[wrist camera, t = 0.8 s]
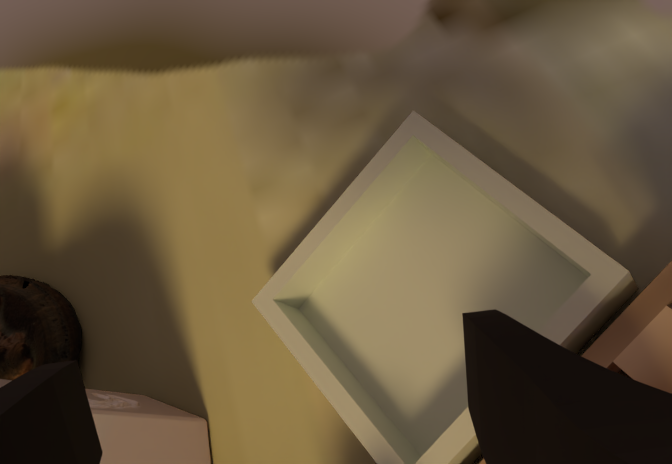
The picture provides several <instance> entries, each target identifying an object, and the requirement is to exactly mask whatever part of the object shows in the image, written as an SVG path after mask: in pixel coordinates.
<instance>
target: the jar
mask: <svg viewBox="0 0 672 464" xmlns="http://www.w3.org/2000/svg"><path fill="white" fill-rule="evenodd" d="M11 381H12V380H4V379H0V388H1V387H2V386H4V385H6V384H7V383H9V382H11ZM85 391H86V394H87V398H88V401H89V405H90V409H91V412H92V416H93V419H94V423H95V426H96V430H97V434H98V437H99V441H100V444H101V448H102V452H103V453H102V457H101V461H100V464H211V456H210V447H209V437H208V428H207V422H206V420H205V419H204V418H201V417H199V416H196V415H193V414H191V413H188V412H186V411H183V410H180V409H178V408H175V407H173V406H170V405H167V404H165V403H162V402H160V401H157V400H155V399H152V398H150V397H147V396H144V395H138V394H129V393H120V392H111V391H102V390H93V389H85Z"/></svg>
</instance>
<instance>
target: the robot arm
mask: <svg viewBox="0 0 672 464" xmlns="http://www.w3.org/2000/svg"><path fill="white" fill-rule="evenodd" d="M462 316H463V332H464V348H465V363H466V379H467V395H468V409H469V413H470V416H471V419H472V423H473V426H474V430H475V433H476V437H477V440H478V443H479V446H480V449H481V453H482V456H483V458H484V460H485V462H486V464H672V393H669V392H666V391H663V390H660V389H657V388H655V387H652V386H649V385H647V384H644V383H641V382H639V381H636V380H633V379H630V378H628V377H625V376H623V375H621V374H618V373H616V372H614V371H611V370H609V369H607V368H605V367H603V366H601V365H598V364H596V363H594V362H592V361H590V360H588V359H586V358H584V357H582V356H580V355H578V354H576V353H574V352H572V351H570V350H568V349H566V348H564V347H562V346H560V345H559V344H557V343H555V342H553V341H551V340H550V339H548V338H546V337H544V336H542V335H541V334H539V333H537V332H535V331H534V330H532V329H530V328H529V327H527V326H525V325H523V324H522V323H520V322H518V321H517V320H515V319H513V318H511V317H510V316H508V315H506V314H504V313H502V312H500V311H498V310H496V309H493V310H485V311H477V312H469V313H462ZM102 453H103V452H102V448H101V444H100V441H99V437H98V434H97V430H96V426H95V423H94V419H93V416H92V412H91V409H90V405H89V401H88V398H87V394H86V391H85V387H84V383H83V380H82V376H81V373H80V369H79V366H78V362H77V360H74V361H66V362H58V363H49V364H44V365H41V366H39V367H37V368H35V369H33V370H31V371H29V372H27V373H25V374H23V375H21V376H19V377H18V378H16V379H14V380H12V381H11V382H9V383H7V384H6V385H4V386H2V387H1V388H0V464H100V461H101V457H102Z"/></svg>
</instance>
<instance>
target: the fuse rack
mask: <svg viewBox="0 0 672 464" xmlns="http://www.w3.org/2000/svg"><path fill="white" fill-rule="evenodd" d="M582 357H584V358H586V359H588V360H590V361H592V362H594V363H596V364H598V365H601V366H603V367H605V368H607V369H609V370H611V371H614V372H616V373H618V372H619V371H620V370H621V369H622V370H623V371H624V372H625V373H627V374H628V375H629V376H630V377H631V378H632V379H634V380H636V381H639V382H641V383H644V384H647V385H649V386H652V387H655V388H657V389H660V390H663V391H666V392H669V393H672V261H671V262H670V263H669V264H668V265H667V266H666V267H665V268H664V269H663V270H662V271H661V272H660V274H659V275H658V276H657V277H656V278H655V279H654V280H653V281H652V282H651V283H650V284H649V285H648V286H647V287H646V288H645V289H644V290H643V291H642V292H641V294H640V295H639V296H638V297H637V298H636V299H635V300H634V301H633V302H632V303H631V304H630V305H629V306H628V307H627V308H626V309H625V310H624V311H623V312H622V314H621V315H620V316H619V317H618V318H617V319H616V320H615V321H614V322H613V323H612V324H611V325H610V326H609V327H608V328H607V329H606V330H605V331H604V332H603V334H602V335H601V336H600V337H599V338H598V339H597V340H596V341H595V342H594V343H593V344H592V345H591V346H590V347H589V348H588V349H587V350H586V351H585V352H584V353H583V355H582ZM479 464H486V462H485V460H484V459H483V460H482V461H481V462H480V463H479Z"/></svg>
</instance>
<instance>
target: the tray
mask: <svg viewBox="0 0 672 464" xmlns="http://www.w3.org/2000/svg"><path fill="white" fill-rule="evenodd" d="M637 289H638V287H637V285H636V283H635V281H634V279H633V277H632V276H631V274H630V272H629V271H628V270H627V269H626V268H624V267H623V266H622V265H620V264H619V263H618V262H616V261H615V260H614V259H612V258H611V257H609V256H608V255H607V254H605V253H604V252H603V251H601V250H600V249H599V248H597V247H596V246H595V245H593V244H592V243H591V242H589V241H588V240H587V239H585V238H584V237H583V236H581V235H580V234H579V233H577V232H576V231H575V230H573V229H572V228H571V227H569V226H568V225H567V224H565V223H564V222H563V221H561V220H560V219H559V218H557V217H556V216H555V215H553V214H552V213H551V212H549V211H548V210H547V209H545V208H544V207H542V206H541V205H540V204H538V203H537V202H536V201H534V200H533V199H532V198H530V197H529V196H528V195H526V194H525V193H524V192H522V191H521V190H520V189H518V188H517V187H516V186H514V185H513V184H512V183H510V182H509V181H508V180H506V179H505V178H504V177H502V176H501V175H500V174H498V173H497V172H496V171H494V170H493V169H492V168H490V167H489V166H488V165H486V164H485V163H484V162H482V161H481V160H480V159H478V158H477V157H475V156H474V155H473V154H471V153H470V152H469V151H467V150H466V149H465V148H463V147H462V146H461V145H459V144H458V143H457V142H455V141H454V140H453V139H451V138H450V137H449V136H447V135H446V134H445V133H443V132H442V131H441V130H439V129H438V128H437V127H435V126H434V125H433V124H431V123H430V122H429V121H427V120H426V119H425V118H423V117H422V116H421V115H419V114H418V113H417V112H415V111H414V110H413V111H412V112H411V114H410V115H409V116H408V117H407V118H406V119H405V121H404V122H403V123H402V124H401V125H400V127H399V128H398V129H397V130H396V131H395V132H394V134H393V135H392V136H391V137H390V138H389V139H388V141H387V142H386V143H385V144H384V145H383V147H382V148H381V149H380V150H379V151H378V152H377V154H376V155H375V156H374V157H373V158H372V160H371V161H370V162H369V163H368V164H367V165H366V167H365V168H364V169H363V170H362V171H361V173H360V174H359V175H358V176H357V177H356V178H355V180H354V181H353V182H352V183H351V184H350V186H349V187H348V188H347V189H346V190H345V191H344V193H343V194H342V195H341V196H340V197H339V199H338V200H337V201H336V202H335V203H334V204H333V206H332V207H331V208H330V209H329V210H328V211H327V213H326V214H325V215H324V216H323V217H322V219H321V220H320V221H319V222H318V223H317V224H316V226H315V227H314V228H313V229H312V230H311V232H310V233H309V234H308V235H307V236H306V237H305V239H304V240H303V241H302V242H301V243H300V245H299V246H298V247H297V248H296V249H295V250H294V252H293V253H292V254H291V255H290V256H289V258H288V259H287V260H286V261H285V262H284V263H283V265H282V266H281V267H280V268H279V269H278V270H277V272H276V273H275V274H274V275H273V276H272V278H271V279H270V280H269V281H268V282H267V283H266V285H265V286H264V287H263V288H262V289H261V291H260V292H259V293H258V294H257V295H256V296H255V298H254V299H253V300H252V303H253V304H254V305H255V307H256V308H257V309H258V310H259V312H260V313H261V314H262V316H263V317H264V318H265V320H266V321H267V322H268V323H269V325H270V326H271V327H272V329H273V330H274V331H275V332H276V334H277V335H278V336H279V338H280V339H281V340H282V341H283V343H284V344H285V345H286V347H287V348H288V349H289V351H290V352H291V353H292V354H293V356H294V357H295V358H296V360H297V361H298V362H299V363H300V365H301V366H302V367H303V369H304V370H305V371H306V373H307V374H308V375H309V376H310V378H311V379H312V380H313V382H314V383H315V384H316V385H317V387H318V388H319V389H320V391H321V392H322V393H323V395H324V396H325V397H326V398H327V400H328V401H329V402H330V404H331V405H332V406H333V407H334V409H335V410H336V411H337V413H338V414H339V415H340V416H341V418H342V419H343V420H344V422H345V423H346V424H347V426H348V427H349V428H350V429H351V431H352V432H353V433H354V435H355V436H356V437H357V438H358V440H359V441H360V442H361V444H362V445H363V446H364V448H365V449H366V450H367V451H368V453H369V454H370V455H371V457H372V458H373V459H374V460H375V462H376V463H377V464H472V463H473V462H474V461H475V460H476V459H477V458H478V457H479V456H480V455H481V454H482V453H481V449H480V446H479V443H478V440H477V437H476V433H475V430H474V426H473V423H472V419H471V416H470V413H469V409H468V395H467V379H466V363H465V348H464V332H463V316H462V313H469V312H477V311H485V310H493V309H496V310H498V311H500V312H502V313H504V314H506V315H508V316H510V317H511V318H513V319H515V320H517V321H518V322H520V323H522V324H523V325H525V326H527V327H529V328H530V329H532V330H534V331H535V332H537V333H539V334H541V335H542V336H544V337H546V338H548V339H550V340H551V341H553V342H555V343H557V344H559V345H560V346H562V347H564V348H566V349H568V350H570V351H572V352H574V353H576V354H577V353H578V352H579V351H580V349H581V348H582V347H583V346H584V345H585V344H586V343H587V342H588V341H589V340H590V339H591V338H592V337H593V336H594V335H595V334H596V333H597V332H598V331H599V329H600V328H601V327H602V326H603V325H604V324H605V323H606V322H607V321H608V320H609V319H610V318H611V317H612V316H613V315H614V314H615V313H616V312H617V310H618V309H619V308H620V307H621V306H622V305H623V304H624V303H625V302H626V301H627V300H628V299H629V298H630V297H631V296H632V295H633V294H634V293H635V291H636V290H637Z"/></svg>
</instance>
